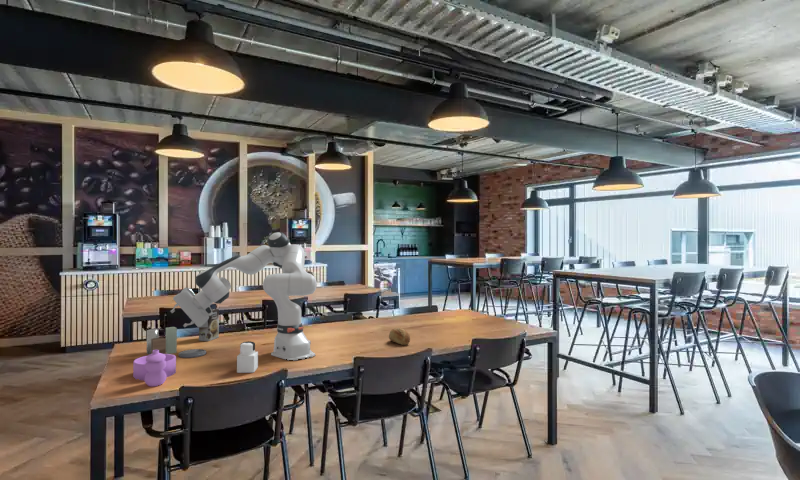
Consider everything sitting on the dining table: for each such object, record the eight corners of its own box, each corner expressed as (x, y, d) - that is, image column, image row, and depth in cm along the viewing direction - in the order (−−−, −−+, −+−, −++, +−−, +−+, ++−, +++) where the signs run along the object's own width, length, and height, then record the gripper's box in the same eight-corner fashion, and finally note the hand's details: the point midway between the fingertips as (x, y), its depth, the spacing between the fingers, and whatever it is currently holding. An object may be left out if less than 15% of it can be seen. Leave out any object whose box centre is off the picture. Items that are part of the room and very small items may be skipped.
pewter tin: (159, 353, 212) (159, 330, 212) (147, 354, 209) (147, 331, 208) (157, 350, 216) (157, 328, 215) (145, 352, 212) (145, 329, 212)
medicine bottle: (241, 367, 190) (241, 340, 190) (258, 367, 191) (258, 340, 191) (236, 373, 183) (236, 344, 183) (253, 372, 184) (254, 344, 183)
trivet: (209, 355, 209) (209, 352, 209) (182, 359, 201) (182, 357, 201) (201, 349, 218) (201, 347, 218) (175, 353, 210) (175, 351, 210)
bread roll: (399, 347, 229) (399, 332, 228) (384, 341, 241) (384, 327, 241) (414, 345, 234) (414, 330, 234) (398, 339, 246) (399, 325, 246)
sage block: (176, 352, 213) (176, 328, 213) (167, 354, 210) (167, 329, 210) (174, 351, 216) (174, 326, 216) (165, 352, 213) (165, 327, 213)
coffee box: (209, 341, 236) (209, 311, 235) (198, 340, 237) (198, 310, 237) (219, 337, 245) (219, 308, 244) (209, 336, 246) (209, 308, 246)
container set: (133, 372, 183) (133, 340, 183) (174, 366, 191) (174, 336, 191) (132, 390, 161) (132, 355, 161) (178, 384, 169) (178, 350, 169)
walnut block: (165, 358, 203) (165, 339, 203) (153, 360, 199) (153, 340, 199) (163, 356, 207) (163, 337, 206) (151, 358, 203) (151, 338, 203)
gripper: (187, 285, 222) (163, 303, 216) (214, 316, 226) (191, 334, 219) (187, 286, 227) (163, 303, 221) (213, 315, 231) (190, 334, 225)
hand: (177, 319), depth 220 cm, fingers open, 8 cm apart
